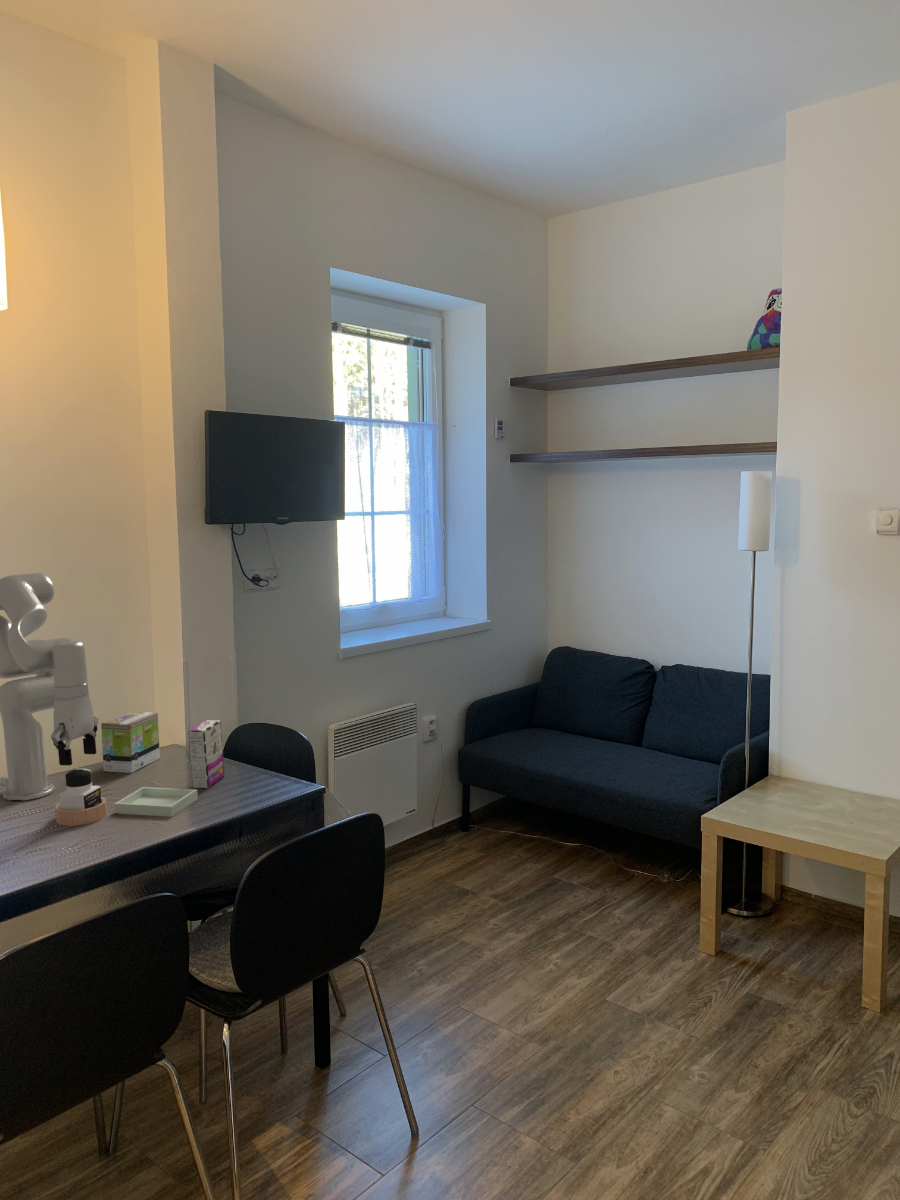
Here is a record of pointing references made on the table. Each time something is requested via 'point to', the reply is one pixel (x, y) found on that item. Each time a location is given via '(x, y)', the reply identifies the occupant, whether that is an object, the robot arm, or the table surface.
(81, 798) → the medicine bottle
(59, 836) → the table surface
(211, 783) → the candy bar box
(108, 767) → the tea box
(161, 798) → the tray
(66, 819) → the faceted tan ring
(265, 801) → the table surface
